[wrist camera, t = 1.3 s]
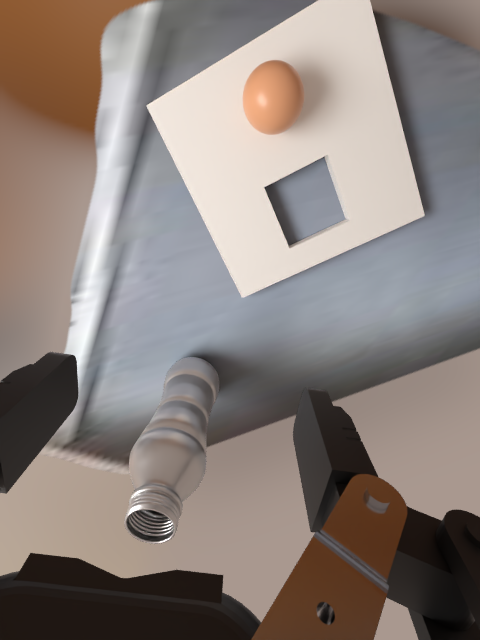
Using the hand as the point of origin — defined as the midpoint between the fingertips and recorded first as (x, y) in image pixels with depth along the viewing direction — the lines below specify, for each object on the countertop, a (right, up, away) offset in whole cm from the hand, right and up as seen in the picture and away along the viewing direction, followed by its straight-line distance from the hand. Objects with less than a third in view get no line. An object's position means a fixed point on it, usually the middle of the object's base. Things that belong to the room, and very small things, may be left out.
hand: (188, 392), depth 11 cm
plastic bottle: (-4, -4, +29) cm, 30 cm away
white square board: (+7, +18, +20) cm, 28 cm away
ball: (+5, +21, +15) cm, 26 cm away
